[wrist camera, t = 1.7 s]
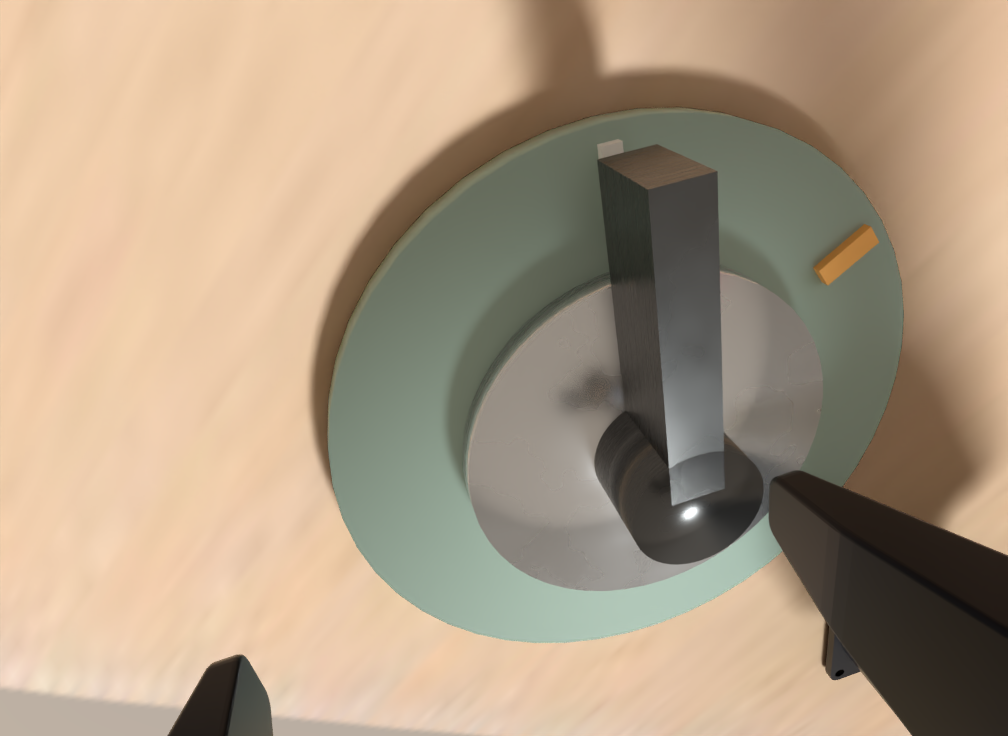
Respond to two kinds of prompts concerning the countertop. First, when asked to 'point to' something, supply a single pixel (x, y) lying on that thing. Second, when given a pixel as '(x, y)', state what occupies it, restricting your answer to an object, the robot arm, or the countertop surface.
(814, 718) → the countertop surface
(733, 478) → the dial
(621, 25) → the countertop surface
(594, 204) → the dial plate
